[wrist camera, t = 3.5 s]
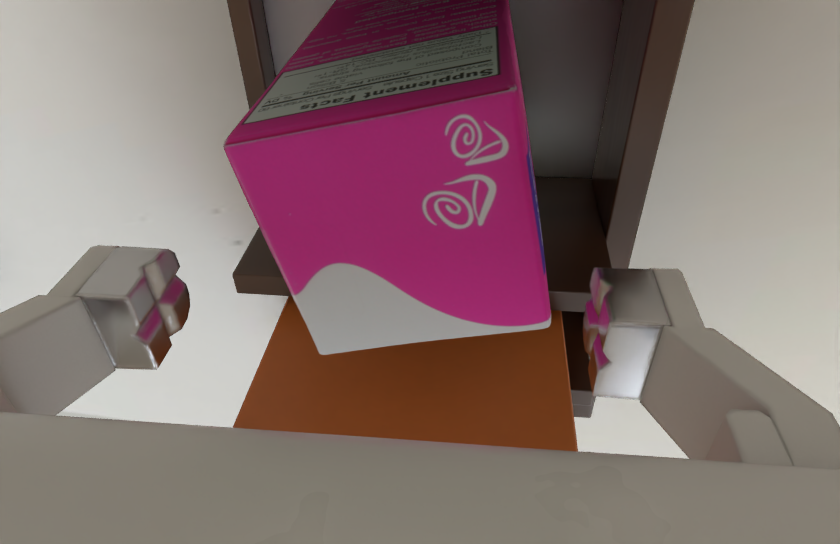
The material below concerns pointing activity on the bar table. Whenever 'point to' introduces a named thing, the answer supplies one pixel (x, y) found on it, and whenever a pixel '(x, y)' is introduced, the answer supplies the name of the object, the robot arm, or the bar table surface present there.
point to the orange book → (418, 388)
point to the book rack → (557, 197)
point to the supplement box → (399, 176)
